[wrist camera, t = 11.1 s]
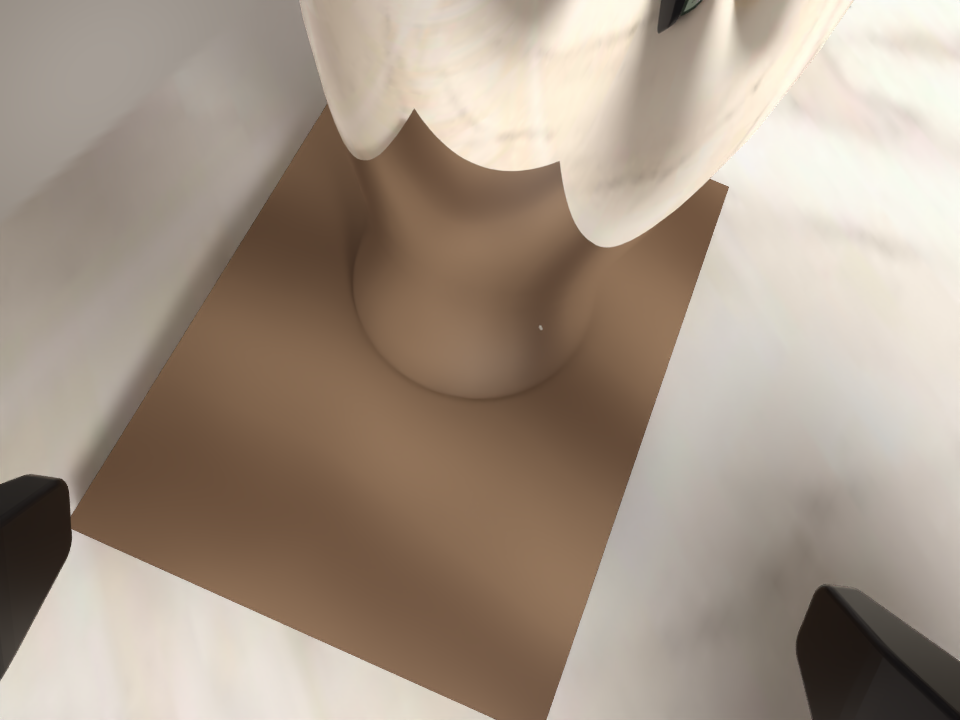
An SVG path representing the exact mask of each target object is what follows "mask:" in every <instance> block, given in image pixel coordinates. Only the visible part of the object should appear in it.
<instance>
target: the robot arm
mask: <svg viewBox="0 0 960 720" xmlns="http://www.w3.org/2000/svg"><path fill="white" fill-rule="evenodd" d="M71 542H72V530H71V515H70V499H69V490H68V486H67V484H66V482H65V481H63V480H62V479H60V478H55V477H48V476H41V475H33V474H29V475H24V476H21V477H18V478H16V479H13V480H10V481H8V482H5V483H2V484H0V680H1V679H2V677H3V676H4V674H5V672H6V671H7V669H8V667H9V665H10V664H11V662H12V660H13V658H14V657H15V655H16V653H17V651H18V649H19V647H20V646H21V644H22V642H23V640H24V638H25V636H26V634H27V632H28V630H29V629H30V627H31V625H32V623H33V621H34V619H35V617H36V615H37V614H38V612H39V610H40V608H41V606H42V604H43V602H44V600H45V599H46V597H47V595H48V593H49V591H50V589H51V587H52V585H53V583H54V582H55V580H56V578H57V576H58V574H59V572H60V570H61V568H62V567H63V565H64V563H65V561H66V559H67V557H68V554H69V551H70V547H71ZM796 655H797V660H798V664H799V668H800V672H801V676H802V680H803V684H804V689H805V693H806V697H807V701H808V705H809V709H810V713H811V717H812V720H960V661H959V660H957V659H956V658H954V657H953V656H951V655H950V654H949V653H947V652H946V651H944V650H943V649H942V648H940V647H939V646H937V645H936V644H935V643H933V642H932V641H930V640H929V639H928V638H926V637H925V636H923V635H922V634H920V633H919V632H918V631H916V630H915V629H913V628H912V627H911V626H909V625H908V624H906V623H905V622H904V621H902V620H901V619H899V618H898V617H896V616H895V615H894V614H892V613H891V612H889V611H888V610H887V609H885V608H884V607H882V606H881V605H880V604H878V603H877V602H875V601H874V600H872V599H871V598H870V597H868V596H867V595H865V594H864V593H863V592H861V591H860V590H858V589H856V588H853V587H846V586H839V585H831V584H824V585H821V586H819V587H818V589H817V590H816V591H815V593H814V595H813V598H812V600H811V602H810V605H809V607H808V610H807V612H806V615H805V617H804V620H803V622H802V625H801V627H800V630H799V632H798V635H797V640H796Z"/></svg>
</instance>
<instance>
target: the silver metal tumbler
mask: <svg viewBox="0 0 960 720" xmlns="http://www.w3.org/2000/svg"><path fill="white" fill-rule="evenodd" d="M853 1H854V0H299V3H300V8H301V13H302V17H303V21H304V25H305V28H306V32H307V35H308V39H309V42H310V46H311V49H312V53H313V56H314V60H315V63H316V67H317V70H318V74H319V77H320V81H321V84H322V88H323V91H324V94H325V97H326V100H327V103H328V106H329V109H330V111H331V114H332V117H333V120H334V122H335V125H336V128H337V131H338V133H339V136H340V139H341V142H342V144H343V147H344V150H345V153H346V155H347V158H348V160H349V163H350V166H351V168H352V171H353V173H354V176H355V179H356V181H357V184H358V187H359V189H360V192H361V195H362V198H363V201H364V204H365V207H366V212H367V219H366V222H365V225H364V228H363V231H362V234H361V237H360V240H359V244H358V247H357V251H356V255H355V260H354V266H353V296H354V302H355V307H356V311H357V314H358V317H359V320H360V322H361V325H362V327H363V329H364V331H365V333H366V335H367V336H368V338H369V340H370V341H371V343H372V344H373V346H374V347H375V348H376V349H377V351H378V352H379V353H380V354H381V356H382V357H383V358H384V359H385V360H386V361H387V362H388V363H389V364H390V365H391V366H392V367H394V368H395V369H396V370H397V371H398V372H400V373H401V374H402V375H404V376H405V377H407V378H408V379H410V380H411V381H413V382H415V383H417V384H419V385H421V386H423V387H425V388H427V389H430V390H432V391H435V392H438V393H441V394H444V395H448V396H453V397H459V398H466V399H492V398H500V397H505V396H509V395H513V394H517V393H520V392H523V391H525V390H528V389H530V388H532V387H534V386H536V385H538V384H540V383H541V382H543V381H545V380H546V379H548V378H549V377H551V376H552V375H553V374H555V373H556V372H557V371H558V370H560V369H561V368H562V367H563V366H564V365H565V364H566V363H567V362H568V360H569V359H570V358H571V357H572V356H573V354H574V353H575V352H576V350H577V349H578V347H579V346H580V344H581V342H582V341H583V339H584V337H585V334H586V332H587V330H588V328H589V325H590V322H591V318H592V314H593V309H594V302H595V296H596V291H597V287H598V283H599V281H600V279H601V277H602V275H603V274H604V273H605V272H606V271H607V270H608V269H609V268H610V267H611V266H612V265H613V264H614V263H615V262H617V261H618V260H619V259H620V258H621V257H622V256H623V255H625V254H626V253H627V252H628V251H629V250H631V249H632V248H633V247H634V246H635V245H637V244H638V243H639V242H640V241H641V240H643V239H644V238H645V237H646V236H647V235H649V234H650V233H651V232H652V231H653V230H654V229H655V228H657V227H658V226H659V225H660V224H661V223H662V222H664V221H665V220H666V219H667V218H668V217H669V216H670V215H672V214H673V213H674V212H675V211H676V210H677V209H678V208H680V207H681V206H682V205H683V204H684V203H685V202H686V201H688V200H689V199H690V198H691V197H692V196H693V195H694V194H695V193H696V192H697V191H698V190H699V189H700V188H701V187H702V186H703V185H704V184H705V183H706V182H707V181H708V180H709V179H710V178H711V177H712V176H713V175H714V174H715V173H716V172H717V171H718V170H719V169H720V168H721V167H722V166H723V165H724V164H725V163H726V162H727V161H728V160H729V159H730V158H731V157H732V156H733V155H734V154H735V153H736V152H737V151H738V150H739V149H740V148H741V147H742V146H743V145H744V144H745V143H746V142H747V141H748V140H749V139H750V138H751V137H752V136H753V135H754V134H755V132H756V131H757V130H758V129H759V127H760V126H761V125H762V124H763V122H764V121H765V120H766V119H767V117H768V116H769V115H770V114H771V112H772V111H773V110H774V108H775V107H776V106H777V105H778V103H779V102H780V101H781V100H782V98H783V97H784V96H785V95H786V93H787V92H788V91H789V90H790V88H791V87H792V86H793V84H794V83H795V82H796V81H797V79H798V78H799V77H800V76H801V74H802V73H803V72H804V71H805V69H806V68H807V67H808V66H809V64H810V63H811V62H812V60H813V59H814V58H815V57H816V55H817V54H818V52H819V51H820V50H821V48H822V47H823V45H824V44H825V42H826V41H827V39H828V38H829V36H830V35H831V34H832V32H833V31H834V29H835V28H836V26H837V25H838V23H839V22H840V20H841V19H842V17H843V16H844V15H845V13H846V12H847V10H848V9H849V7H850V6H851V4H852V3H853Z"/></svg>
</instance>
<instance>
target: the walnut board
mask: <svg viewBox="0 0 960 720" xmlns="http://www.w3.org/2000/svg"><path fill="white" fill-rule="evenodd" d="M728 188H729V187H728V186H726V185H723V184H721V183H718V182H716V181H714V180H711V179H709V180H708V181H707V182H706V183H705V184H704V185H703V186H702V187H701V188H700V189H699V190H698V191H697V192H696V193H695V194H694V195H693V196H692V197H691V198H690V199H689V200H688V201H686V202H685V203H684V204H683V205H682V206H681V207H680V208H678V209H677V210H676V211H675V212H674V213H673V214H672V215H670V216H669V217H668V218H667V219H666V220H665V221H664V222H662V223H661V224H660V225H659V226H658V227H657V228H655V229H654V230H653V231H652V232H651V233H650V234H649V235H647V236H646V237H645V238H644V239H643V240H641V241H640V242H639V243H638V244H637V245H635V246H634V247H633V248H632V249H631V250H629V251H628V252H627V253H626V254H625V255H623V256H622V257H621V258H620V259H619V260H618V261H617V262H615V263H614V264H613V265H612V266H611V267H610V268H609V269H608V270H607V271H606V272H605V273H604V274H603V275H602V277H601V279H600V281H599V283H598V287H597V291H596V296H595V302H594V309H593V314H592V318H591V322H590V325H589V328H588V330H587V332H586V334H585V337H584V339H583V341H582V342H581V344H580V346H579V347H578V349H577V350H576V352H575V353H574V354H573V356H572V357H571V358H570V359H569V360H568V362H567V363H566V364H565V365H564V366H563V367H562V368H561V369H560V370H558V371H557V372H556V373H555V374H553V375H552V376H551V377H549V378H548V379H546V380H545V381H543V382H541V383H540V384H538V385H536V386H534V387H532V388H530V389H528V390H525V391H523V392H520V393H517V394H513V395H509V396H505V397H500V398H492V399H466V398H459V397H453V396H448V395H444V394H441V393H438V392H435V391H432V390H430V389H427V388H425V387H423V386H421V385H419V384H417V383H415V382H413V381H411V380H410V379H408V378H407V377H405V376H404V375H402V374H401V373H400V372H398V371H397V370H396V369H395V368H394V367H392V366H391V365H390V364H389V363H388V362H387V361H386V360H385V359H384V358H383V357H382V356H381V354H380V353H379V352H378V351H377V349H376V348H375V347H374V346H373V344H372V343H371V341H370V340H369V338H368V336H367V335H366V333H365V331H364V329H363V327H362V325H361V322H360V320H359V317H358V314H357V311H356V307H355V302H354V296H353V266H354V260H355V255H356V251H357V247H358V244H359V240H360V237H361V234H362V231H363V228H364V225H365V222H366V219H367V212H366V207H365V204H364V201H363V198H362V195H361V192H360V189H359V187H358V184H357V181H356V179H355V176H354V173H353V171H352V168H351V166H350V163H349V160H348V158H347V155H346V153H345V150H344V147H343V144H342V142H341V139H340V136H339V133H338V131H337V128H336V125H335V122H334V120H333V117H332V114H331V111H330V109H329V106H328V103H327V105H326V107H325V108H324V110H323V111H322V113H321V115H320V116H319V118H318V119H317V121H316V123H315V124H314V126H313V128H312V129H311V131H310V132H309V134H308V136H307V137H306V139H305V140H304V142H303V144H302V145H301V147H300V148H299V150H298V152H297V153H296V155H295V156H294V158H293V160H292V161H291V163H290V165H289V166H288V168H287V169H286V171H285V173H284V174H283V176H282V177H281V179H280V181H279V182H278V184H277V185H276V187H275V189H274V190H273V192H272V193H271V195H270V197H269V198H268V200H267V202H266V203H265V205H264V206H263V208H262V210H261V211H260V213H259V214H258V216H257V218H256V219H255V221H254V222H253V224H252V226H251V227H250V229H249V231H248V232H247V234H246V235H245V237H244V239H243V240H242V242H241V243H240V245H239V247H238V248H237V250H236V251H235V253H234V255H233V256H232V258H231V259H230V261H229V263H228V264H227V266H226V268H225V269H224V271H223V272H222V274H221V276H220V277H219V279H218V280H217V282H216V284H215V285H214V287H213V288H212V290H211V292H210V293H209V295H208V297H207V298H206V300H205V301H204V303H203V305H202V306H201V308H200V309H199V311H198V313H197V314H196V316H195V317H194V319H193V321H192V322H191V324H190V325H189V327H188V329H187V330H186V332H185V334H184V335H183V337H182V338H181V340H180V342H179V343H178V345H177V346H176V348H175V350H174V351H173V353H172V354H171V356H170V358H169V359H168V361H167V362H166V364H165V366H164V367H163V369H162V371H161V372H160V374H159V375H158V377H157V379H156V380H155V382H154V383H153V385H152V387H151V388H150V390H149V391H148V393H147V395H146V396H145V398H144V400H143V401H142V403H141V404H140V406H139V408H138V409H137V411H136V412H135V414H134V416H133V417H132V419H131V420H130V422H129V424H128V425H127V427H126V428H125V430H124V432H123V433H122V435H121V437H120V438H119V440H118V441H117V443H116V445H115V446H114V448H113V449H112V451H111V453H110V454H109V456H108V457H107V459H106V461H105V462H104V464H103V466H102V467H101V469H100V470H99V472H98V474H97V475H96V477H95V478H94V480H93V482H92V483H91V485H90V486H89V488H88V490H87V491H86V493H85V494H84V496H83V498H82V499H81V501H80V503H79V504H78V506H77V507H76V509H75V511H74V512H73V514H72V515H71V529H73V530H75V531H77V532H80V533H82V534H84V535H86V536H89V537H91V538H93V539H95V540H97V541H100V542H102V543H104V544H106V545H109V546H111V547H113V548H115V549H117V550H120V551H122V552H124V553H126V554H129V555H131V556H133V557H135V558H138V559H140V560H142V561H144V562H146V563H149V564H151V565H153V566H155V567H158V568H160V569H162V570H164V571H166V572H169V573H171V574H173V575H175V576H178V577H180V578H182V579H184V580H186V581H189V582H191V583H193V584H195V585H198V586H200V587H202V588H204V589H207V590H209V591H211V592H213V593H215V594H218V595H220V596H222V597H224V598H227V599H229V600H231V601H233V602H235V603H238V604H240V605H242V606H244V607H247V608H249V609H251V610H253V611H256V612H258V613H260V614H262V615H264V616H267V617H269V618H271V619H273V620H276V621H278V622H280V623H282V624H284V625H287V626H289V627H291V628H293V629H296V630H298V631H300V632H302V633H305V634H307V635H309V636H311V637H313V638H316V639H318V640H320V641H322V642H325V643H327V644H329V645H331V646H333V647H336V648H338V649H340V650H342V651H345V652H347V653H349V654H351V655H354V656H356V657H358V658H360V659H362V660H365V661H367V662H369V663H371V664H374V665H376V666H378V667H380V668H382V669H385V670H387V671H389V672H391V673H394V674H396V675H398V676H400V677H402V678H405V679H407V680H409V681H411V682H414V683H416V684H418V685H420V686H423V687H425V688H427V689H429V690H431V691H434V692H436V693H438V694H440V695H443V696H445V697H447V698H449V699H451V700H454V701H456V702H458V703H460V704H463V705H465V706H467V707H469V708H472V709H474V710H476V711H478V712H480V713H483V714H485V715H487V716H489V717H492V718H494V719H496V720H546V719H547V716H548V713H549V710H550V707H551V705H552V702H553V699H554V696H555V693H556V690H557V687H558V684H559V681H560V678H561V675H562V672H563V670H564V667H565V664H566V661H567V658H568V655H569V652H570V649H571V646H572V643H573V640H574V637H575V635H576V632H577V629H578V626H579V623H580V620H581V617H582V614H583V611H584V608H585V605H586V602H587V600H588V597H589V594H590V591H591V588H592V585H593V582H594V579H595V576H596V573H597V570H598V567H599V565H600V562H601V559H602V556H603V553H604V550H605V547H606V544H607V541H608V538H609V535H610V532H611V530H612V527H613V524H614V521H615V518H616V515H617V512H618V509H619V506H620V503H621V500H622V497H623V495H624V492H625V489H626V486H627V483H628V480H629V477H630V474H631V471H632V468H633V465H634V462H635V460H636V457H637V454H638V451H639V448H640V445H641V442H642V439H643V436H644V433H645V430H646V427H647V425H648V422H649V419H650V416H651V413H652V410H653V407H654V404H655V401H656V398H657V395H658V392H659V390H660V387H661V384H662V381H663V378H664V375H665V372H666V369H667V366H668V363H669V360H670V357H671V355H672V352H673V349H674V346H675V343H676V340H677V337H678V334H679V331H680V328H681V325H682V322H683V320H684V317H685V314H686V311H687V308H688V305H689V302H690V299H691V296H692V293H693V290H694V287H695V285H696V282H697V279H698V276H699V273H700V270H701V267H702V264H703V261H704V258H705V255H706V252H707V250H708V247H709V244H710V241H711V238H712V235H713V232H714V229H715V226H716V223H717V220H718V217H719V215H720V212H721V209H722V206H723V203H724V200H725V197H726V194H727V191H728Z"/></svg>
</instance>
